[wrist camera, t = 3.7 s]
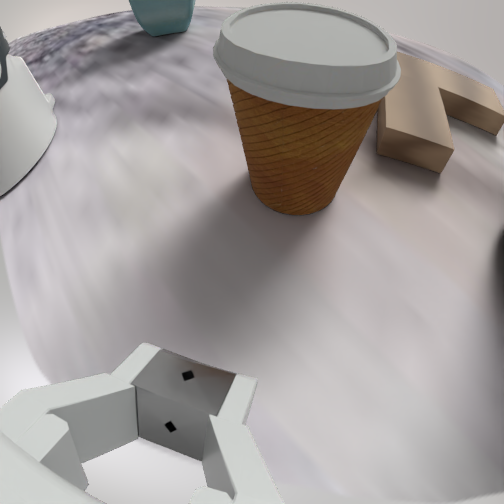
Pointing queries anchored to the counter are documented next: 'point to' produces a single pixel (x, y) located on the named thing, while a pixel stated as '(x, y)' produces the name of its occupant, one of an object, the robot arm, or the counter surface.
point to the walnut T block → (431, 113)
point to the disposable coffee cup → (303, 95)
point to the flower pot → (163, 15)
